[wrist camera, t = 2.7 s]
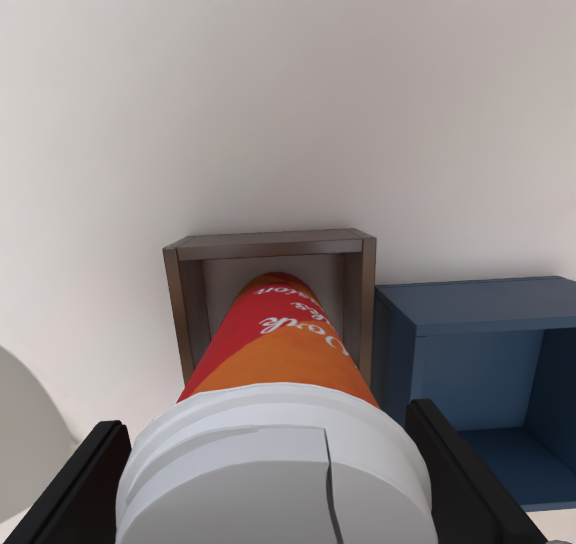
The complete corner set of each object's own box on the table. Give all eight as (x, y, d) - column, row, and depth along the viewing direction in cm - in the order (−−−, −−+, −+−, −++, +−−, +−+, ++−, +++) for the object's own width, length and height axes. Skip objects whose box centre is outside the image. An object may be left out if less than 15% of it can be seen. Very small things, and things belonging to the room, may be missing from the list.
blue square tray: (373, 285, 19) (416, 325, 13) (557, 275, 19) (677, 310, 14) (367, 437, 22) (399, 522, 17) (523, 427, 23) (608, 506, 17)
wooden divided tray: (186, 236, 18) (161, 248, 14) (355, 228, 18) (376, 237, 14) (221, 486, 23) (210, 544, 19) (349, 476, 23) (364, 532, 20)
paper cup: (353, 325, 20) (518, 609, 6) (261, 379, 21) (233, 730, 7) (292, 230, 18) (343, 347, 4) (194, 294, 19) (-17, 557, 5)
